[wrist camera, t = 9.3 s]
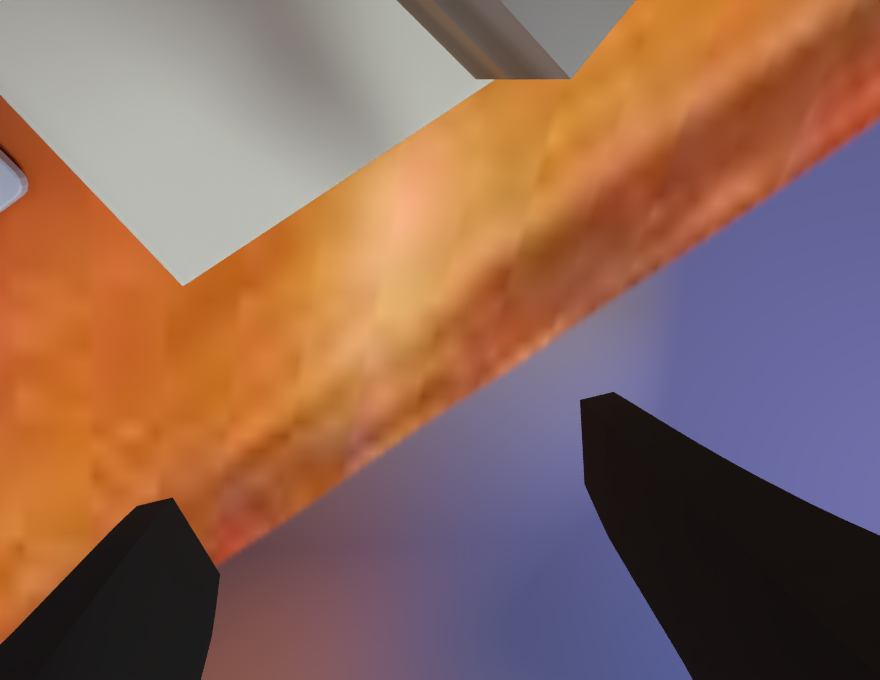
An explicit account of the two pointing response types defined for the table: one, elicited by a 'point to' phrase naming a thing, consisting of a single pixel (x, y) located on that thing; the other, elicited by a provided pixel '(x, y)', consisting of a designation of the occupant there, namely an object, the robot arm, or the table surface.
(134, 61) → the stand
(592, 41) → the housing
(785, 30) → the table surface
